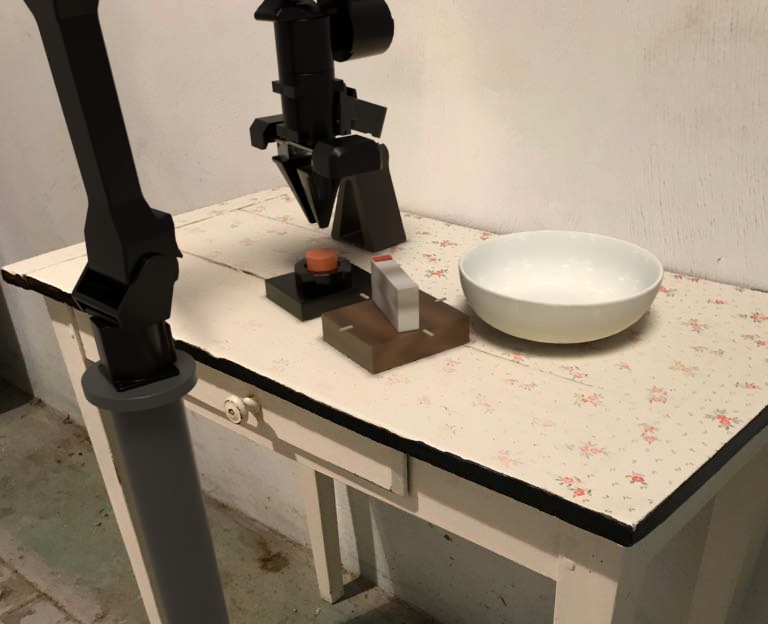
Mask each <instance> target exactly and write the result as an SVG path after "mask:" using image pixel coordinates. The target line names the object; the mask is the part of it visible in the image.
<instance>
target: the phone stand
mask: <svg viewBox="0 0 768 624" xmlns="http://www.w3.org/2000/svg"><path fill="white" fill-rule="evenodd" d="M376 143H377V144H378V145H379V146H380V147H381V148H382V169H381V170H376V171H371V172H366V173H362V174H357V175H352V176H347V177H343V178H342V180H341V182H340V185H339V188H338V191H337V195H336V201H335V207H334V208H335V209H334V214H333V221H332V225H331V226H332V227H331V232H330V237H331V238H332V239H333V240H335V241H339V242H341V243H344V244H347V245H350V246H353V247H356V248H359V249H362V250H364V251H368V252H370V253H375V252H378V251H381V250H384V249H387V248H389V247H390V248H391V247H392V246H396V245H398V244H401V243H404V242H406V241H407V235H406V231H405V227H404V226H405V225H404V223H403V220H402V215H401V210H400V207H399V203H398V199H397V194H396V191H395V190H396V189H395V187H394V183H393V179H392V175H391V171H390V152H389V149H388V146H387V145H386V144H385V143H380V142H379V141H378V142H376Z"/></svg>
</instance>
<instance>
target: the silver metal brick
mask: <svg viewBox="0 0 768 624" xmlns="http://www.w3.org/2000/svg"><path fill="white" fill-rule="evenodd" d="M370 273H371V282H372V300H373V301H374V302H375V304H376V305H377V306H378V307H379V309H380V310H381V311H382V312H383V314H384V315H385V316H386V317H387V319H388V320H389V321H390V322H391V324H392V325H393V326H394V327H395V329H396V330H397V331H398V332H405V331H411V330H417V329H419V289H420V288H419V287H420V286H419V284H417V282H415V280H414V279H413V278H411V276H410V275H409V274H408V273H407V272H406V271H405V270H404V269H403V268H402V267H401V266H400V264H399V263H397V262H396V260H394V258H393V257H392V256H391V254H383V255H377V256H372V257H371V258H370Z"/></svg>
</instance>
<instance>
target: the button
mask: <svg viewBox="0 0 768 624" xmlns="http://www.w3.org/2000/svg"><path fill="white" fill-rule="evenodd" d="M337 256H338V251H337V250H336V249H334V248H330V247H317V248H313V249H310V250H308V251H306V253H305V258H306V262H307V269H308V270H311V271H329V270H333V269H336V268H337V267H338V258H337Z"/></svg>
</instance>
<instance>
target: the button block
mask: <svg viewBox="0 0 768 624" xmlns="http://www.w3.org/2000/svg"><path fill="white" fill-rule="evenodd" d="M337 258H338V267H337V268H336V269H333V270H329V271H311V270H308V269H307V262H306V257H303V258H301V259H299V260H298V261H296V262H295V263H294V267H293V271H292V272H288V273H284V274H280V275H276V276H273V277H269V278H265V279H264V287H265V295H266V296H265V297H266V298H267V299H268V300H270V301H271V302H273V303H275V304H276V305H278V306H279V307H281V308H282V309H284V310H285V311H286V312H288V313H289V314H290V315H293V316H294V317H295V318H297V319H298V320H300V321H301V322H306V321H310V320H314V319H317V318H320V317H321V314H322V313H325V312H329V311H332V310H336V309H339V308H342V307H346V306H349V305H353V304H356V303H360V302H363V301H367V300H370V299H372V282H371V272H370V271H368V270H366V269H363V268H362V267H360V266H359V265H356V264H355V263H353V262H351V260H350V259H348V258H347V257H344V256H342V255H337ZM362 293H363V294H365V295H366V296H368V297H369V299H365V298H364V297H362V296H360V294H362Z"/></svg>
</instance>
